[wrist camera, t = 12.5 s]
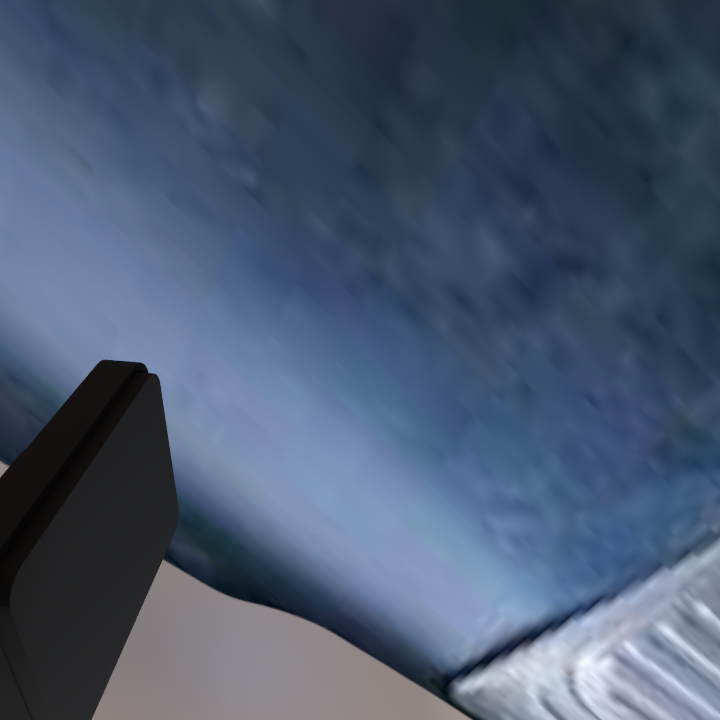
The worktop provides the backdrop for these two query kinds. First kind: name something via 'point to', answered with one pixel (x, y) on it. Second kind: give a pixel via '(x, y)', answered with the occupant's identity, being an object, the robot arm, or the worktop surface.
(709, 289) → the worktop surface
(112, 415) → the robot arm
